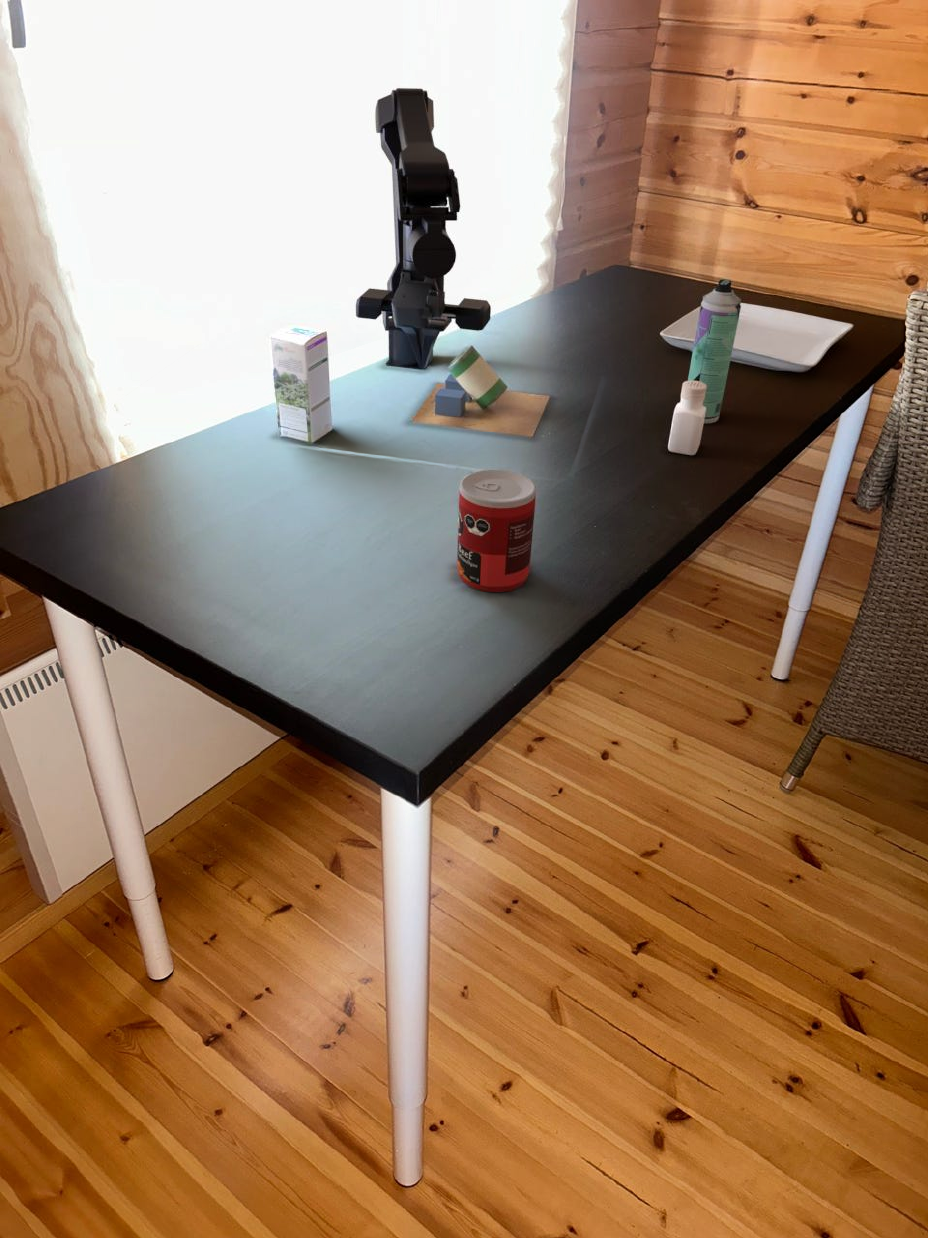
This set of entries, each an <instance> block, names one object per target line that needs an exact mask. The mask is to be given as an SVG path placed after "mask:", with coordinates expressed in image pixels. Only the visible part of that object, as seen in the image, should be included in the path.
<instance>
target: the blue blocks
mask: <svg viewBox="0 0 928 1238" xmlns="http://www.w3.org/2000/svg"><path fill="white" fill-rule="evenodd" d="M444 384H445V388H440V389H439V390H438V392H437V393H436V394H435V414H437V415H445V416H453V417H461V416H462V415H463V413H464V411H465V407H466V402H471V400H472V398H471V396H470V395H469V394H468V393H467V392H466V391H465V390H464V388H463V387H462V386H461V385H460V384H459V383H458V381H457V380H456V379H455V378H454V377H453V376H452V375H451V373H449V374H448V376H447V377H446V379H445V380H444Z"/></svg>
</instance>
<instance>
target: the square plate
mask: <svg viewBox="0 0 928 1238" xmlns="http://www.w3.org/2000/svg"><path fill="white" fill-rule="evenodd" d="M740 305H741V309H740V314H739V319H738V324H737V329H736V334H735V339H734V344H733V349H732V354H731V359H730V362H734V363H738V364H744V365H748V366H752V367H758V368H763V369H766V370H771V371H772V370H773V371H780V372H794V373H805V372H808V371H809V370H810V369H812V368H813V367H815V366H816V365H817V364H818V363H819V362H820V361H821V360H822V359H823V357H824V356H825V355H826V353H827V352H828V350H829V349H830V348H831V347H832V346H833V345H834V344H835V343H837V342H838V341H839V340H841V339H842V338H843V337H844V336H846V334H847V333H848V332H849V331H851V330H852V329H853V328H854V324H853V323H849V322H844V321H839V320H834V319H829V318H824V317H820V316H815V315H811V314H806V313H801V312H796V311H792V310H787V309H781V308H776V307H770V306H764V305H758V304H752V303H746V302H745V303H744V302H741V303H740ZM700 308H701V305H700V306H698V307H697V308H695V309H693V310H692V311H690V312H689V313H687V314H685V315H683V316H682V317H681V318H679V319H678V320H676V321H674V322H673V323H672V324H670V325H669V326H667V327H666V328H665V329H663V330H662V331H660V333H659V335H660V336H661V337H662V339H663V340H664V341H665V342H666V343H668V344H669V345H670V346H674V347H676V348H679V349H682V350H688V351H690V352H691V353H693V348H694V342H695V337H696V331H697V325H698V320H699V314H700Z"/></svg>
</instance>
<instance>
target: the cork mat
mask: <svg viewBox="0 0 928 1238" xmlns="http://www.w3.org/2000/svg"><path fill="white" fill-rule="evenodd" d="M440 388H445V382H437V384H436V385H435V386H434V388H433V389H432V390H431V392H430V393H429V395H428V396H427V397H426V399H425V400H424V402H423V403H422V404H421V405H420V407H419V408H418V410H417V411H416V413H415V414H414V416H412V418H411V420H410V422H411V423H419V424H426V425H435V426H443V427H450V428H457V429H465V430H474V431H480V432H481V431H482V432H489V433H496V434H506V435H513V436H520V437H527V438H528V437H530V438H533V437H534V435H535V434H536V433H535V432H536V430H537V428H538V427H539V423H540V422H541V420H542V417H543V414H544V412H545V410H546V407H547V405H548V403H549V400H550V398H551V396H550V395H545V394H535V393H528V392H520V391H519V392H518V391H510V390H506V391H505V392H504V393H503V394H502V395H501V396H500V397H499V398H498V399H497V400H496V401H495V402H494V403H493V404H491V405H490V406H489V407H487V408H486V409H484V410H482V409H481V408H480V407H479V405H478V404H477V403H476V402H475V401H474V400H473V399H472V400H471V402H466V407H465V411H464V413H463V415H462V416H461V417H453V416H445V415H437V414H435V394H436V393H437V392H438V390H439V389H440Z"/></svg>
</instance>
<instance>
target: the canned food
mask: <svg viewBox="0 0 928 1238" xmlns="http://www.w3.org/2000/svg"><path fill="white" fill-rule="evenodd" d="M536 488H537V486H536V484H535V483H534V481H533V480H532V479H530V478H529V477H527V476H526V475H523V474H521V473H518V472H515V471H510V470H504V469H485V470H479V471H475V472H472V473H469V474H467V475H465V476H464V477H463V478H462V479H461V481H460V484H459V489H458V490H459V492H458V513H457V548H456V549H457V551H456V553H457V554H456V569H457V573H458V576H459V578H460V580H461V582H463V583H464V584H465V585H467V586H469V587H470V588H473V589H474V590H479V591H482V592H488V593H503V592H509V591H513V590H516V589H518V588H519V587H521V586H523V585H524V583H526V581H527V578H528V576H529V574H530V566H531V555H532V544H533V535H534V522H535V513H536V512H535V510H536V498H537V489H536Z"/></svg>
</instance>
